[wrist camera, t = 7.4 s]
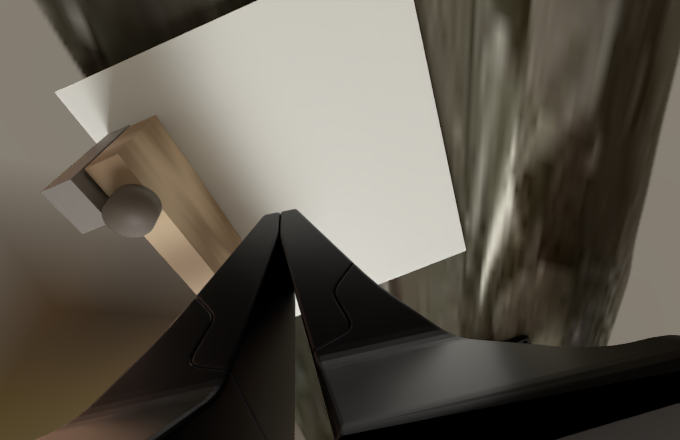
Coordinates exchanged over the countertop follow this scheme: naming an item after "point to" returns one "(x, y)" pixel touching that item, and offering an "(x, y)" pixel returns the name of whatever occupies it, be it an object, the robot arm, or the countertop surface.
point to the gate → (163, 202)
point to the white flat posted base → (291, 126)
